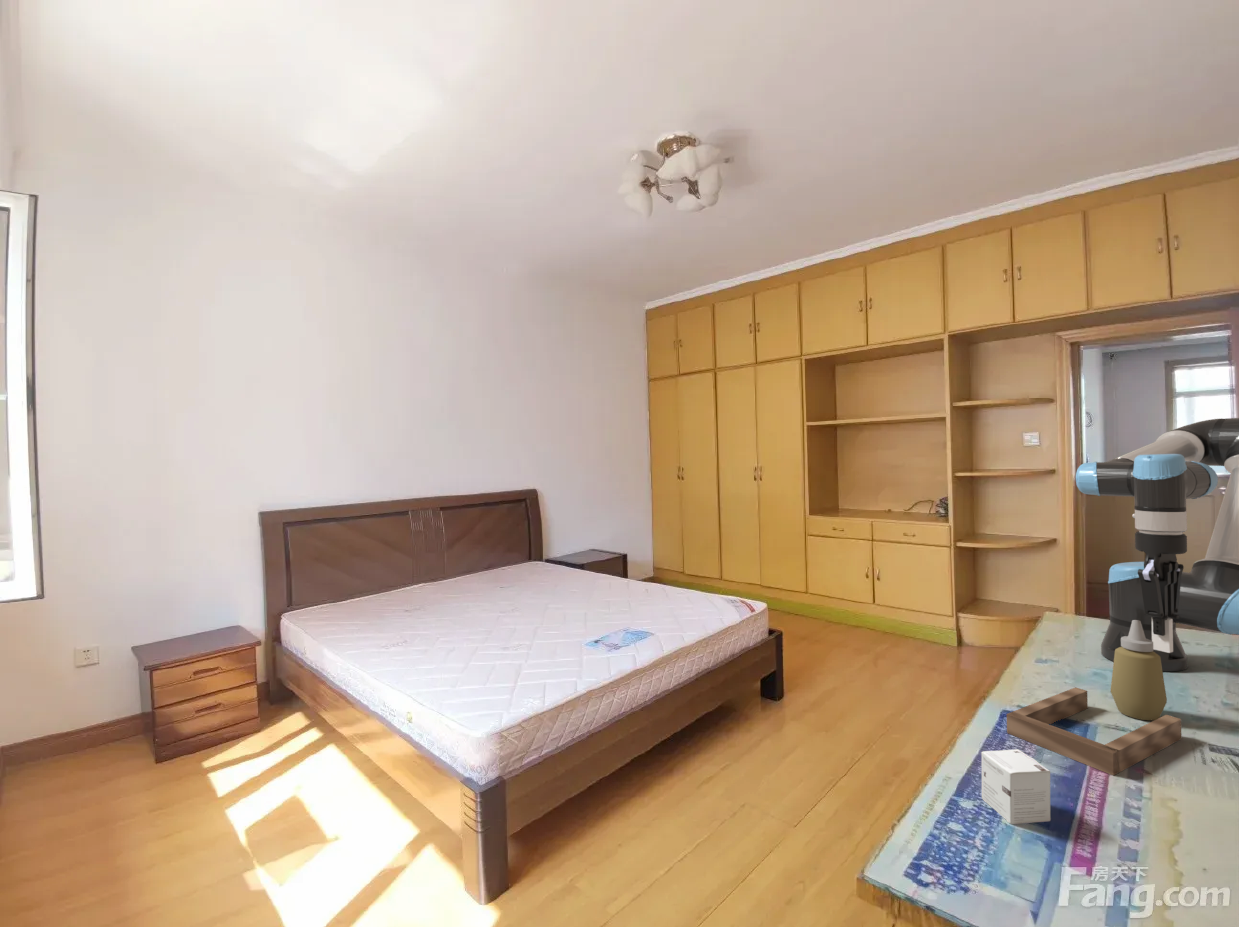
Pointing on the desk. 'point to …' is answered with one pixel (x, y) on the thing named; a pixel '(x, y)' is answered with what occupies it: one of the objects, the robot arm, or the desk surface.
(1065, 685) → the desk surface
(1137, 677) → the squeeze bottle
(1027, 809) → the skincare box
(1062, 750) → the bottle rest
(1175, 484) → the robot arm
